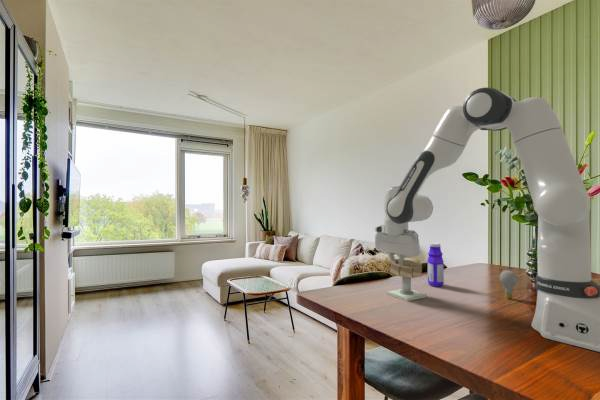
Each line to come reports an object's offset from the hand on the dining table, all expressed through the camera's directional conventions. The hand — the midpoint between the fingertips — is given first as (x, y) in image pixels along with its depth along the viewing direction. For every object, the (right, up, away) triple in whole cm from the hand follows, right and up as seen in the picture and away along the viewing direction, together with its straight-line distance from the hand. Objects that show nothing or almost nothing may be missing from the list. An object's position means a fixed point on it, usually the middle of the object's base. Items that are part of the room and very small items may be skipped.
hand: (396, 264), depth 125 cm
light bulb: (+37, -10, -9) cm, 40 cm away
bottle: (+19, -11, +11) cm, 25 cm away
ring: (+2, -2, -4) cm, 5 cm away
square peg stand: (+2, -11, -4) cm, 12 cm away
